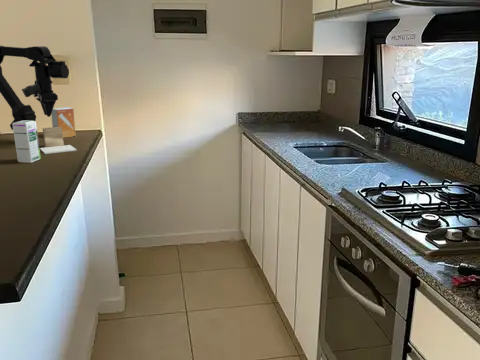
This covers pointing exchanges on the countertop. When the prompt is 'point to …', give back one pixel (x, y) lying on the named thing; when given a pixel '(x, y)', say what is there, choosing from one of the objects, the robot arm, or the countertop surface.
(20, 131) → the syrup box
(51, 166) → the countertop surface
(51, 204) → the countertop surface
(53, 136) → the beige and teal box
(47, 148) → the flat white panel
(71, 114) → the small box
